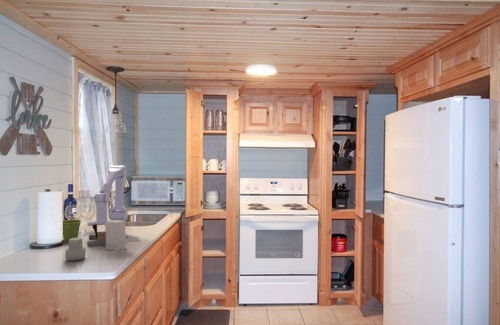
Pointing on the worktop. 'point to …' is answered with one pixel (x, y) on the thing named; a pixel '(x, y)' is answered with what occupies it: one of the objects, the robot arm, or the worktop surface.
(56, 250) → the worktop surface
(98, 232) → the box stamped
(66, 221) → the plant pot
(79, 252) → the air freshener
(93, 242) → the parts bin
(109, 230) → the skincare box
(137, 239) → the coaster
